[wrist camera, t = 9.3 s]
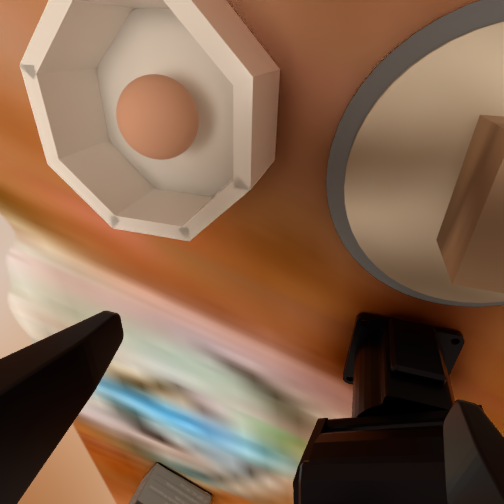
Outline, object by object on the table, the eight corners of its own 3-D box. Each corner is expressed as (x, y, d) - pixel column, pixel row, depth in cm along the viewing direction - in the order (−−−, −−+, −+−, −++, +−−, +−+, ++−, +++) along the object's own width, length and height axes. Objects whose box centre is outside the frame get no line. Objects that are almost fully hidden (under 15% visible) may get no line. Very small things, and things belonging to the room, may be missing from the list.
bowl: (271, 211, 22) (249, 251, 17) (115, 189, 24) (63, 219, 20) (285, -11, 16) (255, -31, 12) (78, -10, 18) (-6, -26, 14)
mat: (580, 321, 20) (588, 330, 19) (313, 273, 23) (311, 280, 22) (807, -14, 12) (833, -17, 11) (352, -12, 15) (351, -14, 15)
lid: (574, 312, 19) (634, 389, 14) (328, 269, 21) (319, 322, 17) (768, 20, 12) (981, 7, 8) (373, 13, 15) (376, 0, 11)
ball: (211, 152, 20) (180, 173, 17) (148, 145, 21) (107, 164, 17) (209, 73, 18) (173, 80, 14) (139, 69, 19) (90, 75, 15)
